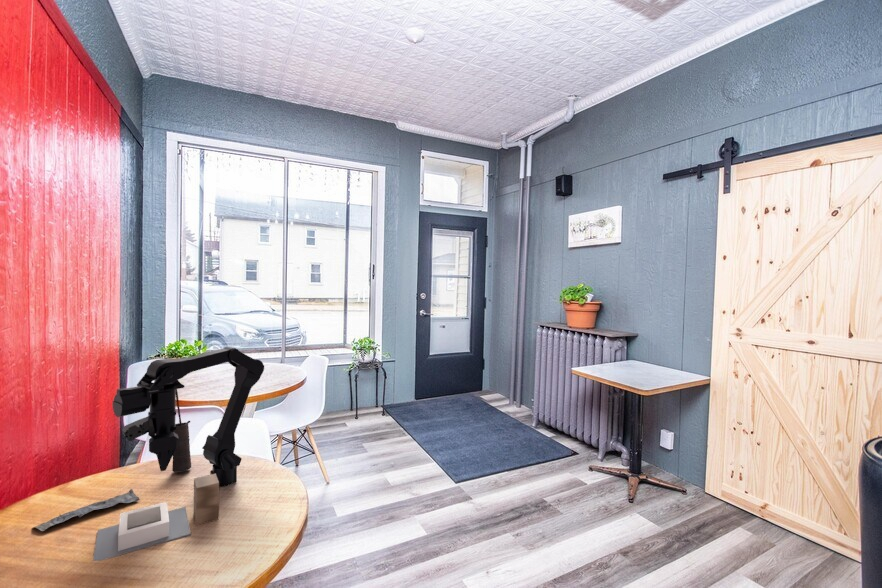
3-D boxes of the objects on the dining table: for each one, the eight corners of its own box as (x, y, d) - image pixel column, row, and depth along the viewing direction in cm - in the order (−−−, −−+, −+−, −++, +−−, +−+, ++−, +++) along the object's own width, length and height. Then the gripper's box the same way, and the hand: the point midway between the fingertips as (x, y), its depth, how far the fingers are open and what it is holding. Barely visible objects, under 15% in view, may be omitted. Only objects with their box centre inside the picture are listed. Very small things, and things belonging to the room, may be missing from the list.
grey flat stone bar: (36, 536, 95) (36, 527, 95) (30, 527, 99) (30, 518, 99) (140, 501, 112) (140, 493, 112) (131, 494, 116) (131, 486, 116)
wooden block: (215, 509, 109) (215, 473, 109) (218, 520, 104) (219, 482, 104) (193, 515, 106) (193, 478, 106) (196, 527, 101) (196, 488, 101)
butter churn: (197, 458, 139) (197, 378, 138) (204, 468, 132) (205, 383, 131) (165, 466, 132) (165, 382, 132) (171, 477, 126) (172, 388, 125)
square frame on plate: (185, 510, 108) (185, 493, 108) (190, 537, 97) (190, 519, 97) (97, 533, 97) (98, 515, 97) (92, 567, 86) (92, 547, 86)
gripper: (126, 402, 111) (125, 458, 111) (123, 422, 96) (123, 487, 96) (174, 396, 118) (173, 449, 118) (179, 414, 103) (178, 474, 103)
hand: (162, 464), depth 109 cm, fingers open, 9 cm apart
